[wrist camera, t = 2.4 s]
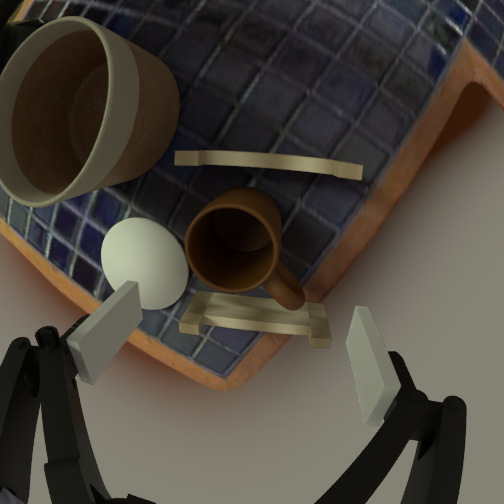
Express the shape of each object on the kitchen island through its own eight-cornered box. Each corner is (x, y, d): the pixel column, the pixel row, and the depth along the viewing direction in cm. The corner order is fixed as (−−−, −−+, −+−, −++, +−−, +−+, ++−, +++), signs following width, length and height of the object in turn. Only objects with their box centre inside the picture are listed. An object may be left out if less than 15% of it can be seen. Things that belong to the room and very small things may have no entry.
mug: (324, 250, 31) (339, 290, 22) (274, 293, 33) (270, 343, 25) (244, 169, 29) (227, 179, 20) (196, 220, 31) (164, 249, 22)
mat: (110, 299, 36) (108, 301, 36) (99, 214, 32) (96, 215, 32) (190, 313, 36) (189, 316, 35) (188, 220, 31) (186, 221, 31)
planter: (129, 208, 32) (52, 247, 19) (53, 137, 29) (-27, 147, 16) (212, 95, 26) (159, 60, 14) (118, 33, 24) (45, -2, 11)
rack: (197, 299, 35) (179, 332, 28) (199, 149, 29) (175, 151, 22) (322, 311, 33) (328, 348, 27) (345, 161, 27) (363, 165, 21)
